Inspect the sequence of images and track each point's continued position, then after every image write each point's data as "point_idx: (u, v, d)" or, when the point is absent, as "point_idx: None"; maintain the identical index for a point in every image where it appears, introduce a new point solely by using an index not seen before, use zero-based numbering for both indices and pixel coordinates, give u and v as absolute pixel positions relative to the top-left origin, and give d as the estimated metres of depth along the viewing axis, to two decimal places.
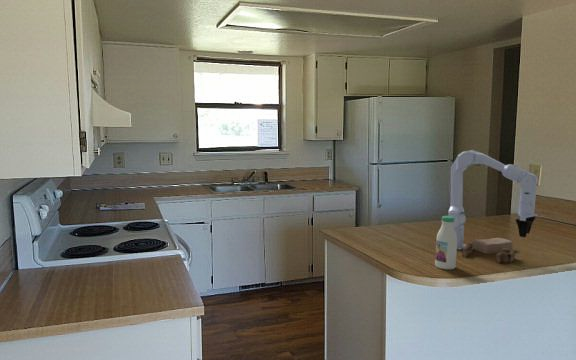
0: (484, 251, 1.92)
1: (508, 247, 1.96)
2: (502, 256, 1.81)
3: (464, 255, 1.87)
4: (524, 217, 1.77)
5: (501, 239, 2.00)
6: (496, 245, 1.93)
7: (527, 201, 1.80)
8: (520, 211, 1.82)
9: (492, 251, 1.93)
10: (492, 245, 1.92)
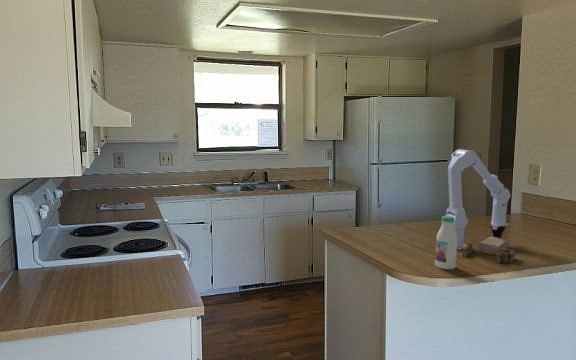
0: (496, 253, 1.89)
1: (506, 245, 1.99)
2: (502, 256, 1.81)
3: (464, 255, 1.87)
4: (496, 226, 1.98)
5: (496, 238, 2.02)
6: (502, 245, 1.93)
7: (504, 212, 2.01)
8: (493, 221, 2.03)
9: None
10: (500, 246, 1.91)
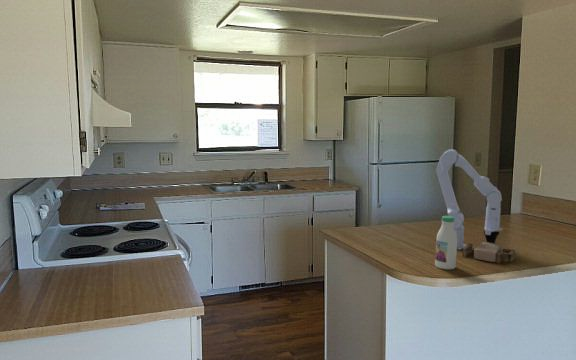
0: (493, 260, 1.79)
1: (500, 251, 1.90)
2: (502, 256, 1.81)
3: (464, 255, 1.87)
4: (489, 231, 1.89)
5: (490, 243, 1.92)
6: (498, 251, 1.84)
7: (494, 216, 1.91)
8: (486, 225, 1.94)
9: None
10: (497, 252, 1.81)
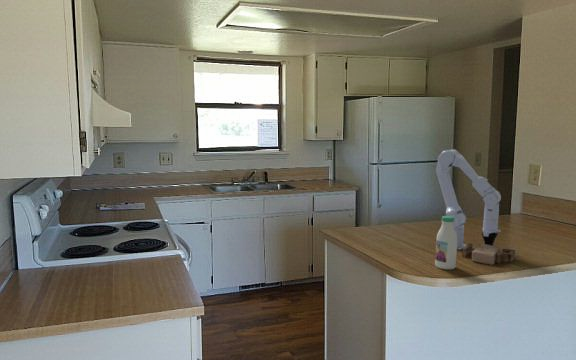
0: (490, 262, 1.77)
1: None
2: (502, 256, 1.81)
3: (464, 255, 1.87)
4: (487, 233, 1.86)
5: (488, 245, 1.90)
6: (496, 253, 1.81)
7: (490, 217, 1.89)
8: (484, 227, 1.91)
9: (494, 261, 1.79)
10: (495, 254, 1.79)
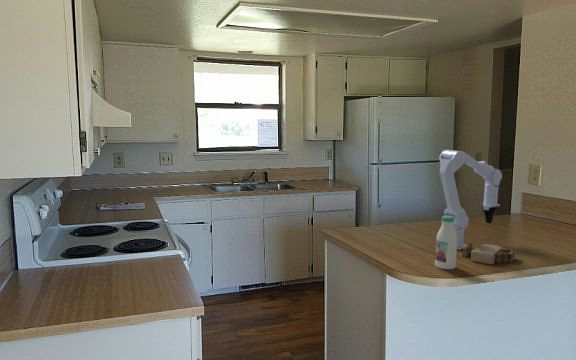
0: (489, 262, 1.77)
1: None
2: (502, 256, 1.81)
3: (464, 255, 1.87)
4: (487, 207, 2.01)
5: (489, 246, 1.90)
6: (496, 254, 1.81)
7: (496, 193, 2.04)
8: (485, 202, 2.06)
9: (494, 261, 1.79)
10: (494, 254, 1.79)
